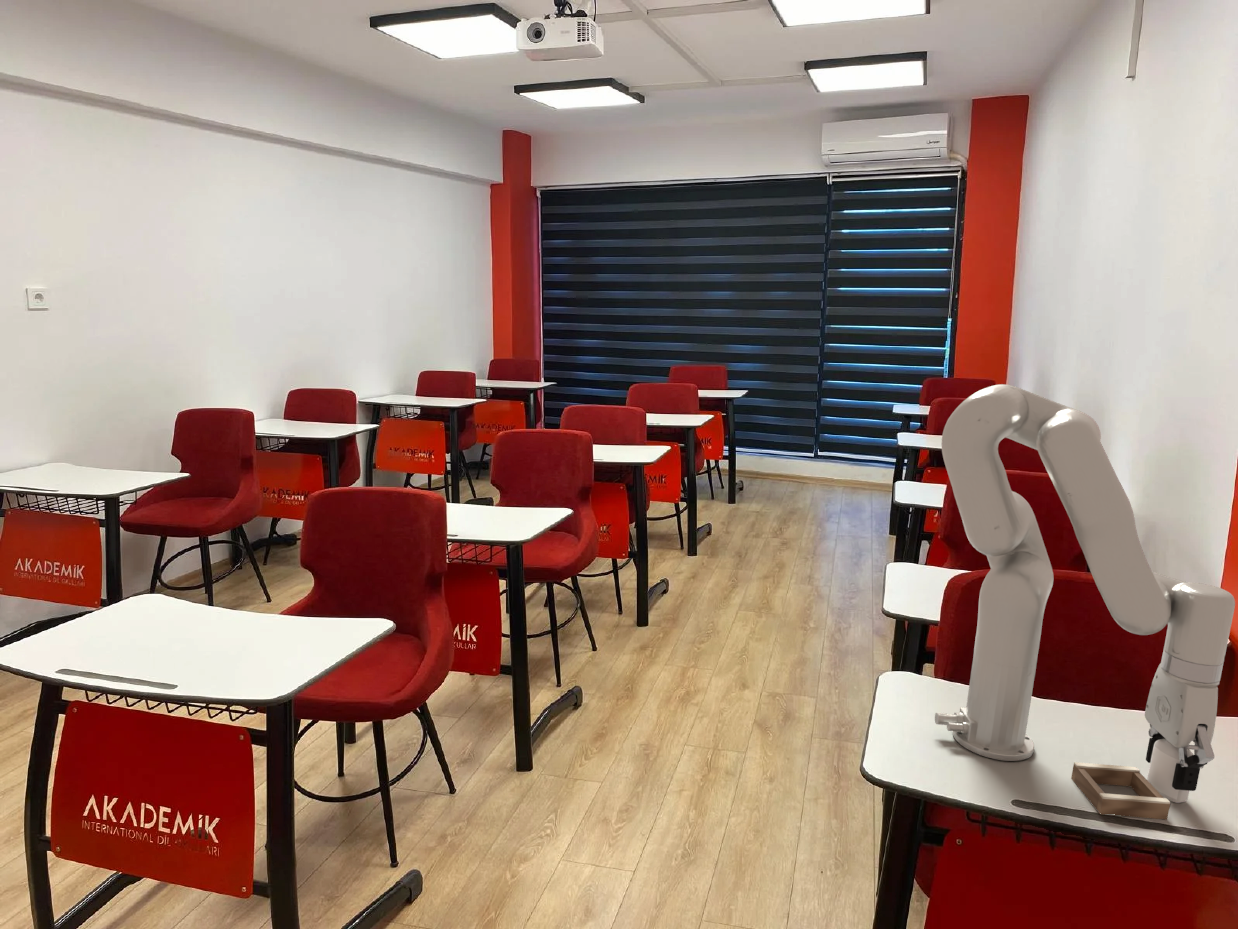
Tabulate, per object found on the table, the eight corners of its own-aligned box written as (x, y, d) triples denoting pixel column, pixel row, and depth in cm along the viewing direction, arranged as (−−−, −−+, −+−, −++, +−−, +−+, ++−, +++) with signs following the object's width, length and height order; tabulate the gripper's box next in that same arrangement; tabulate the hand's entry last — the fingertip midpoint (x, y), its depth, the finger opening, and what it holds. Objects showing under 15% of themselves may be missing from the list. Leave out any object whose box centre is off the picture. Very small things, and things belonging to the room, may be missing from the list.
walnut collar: (1100, 814, 127) (1103, 797, 126) (1071, 778, 136) (1073, 762, 136) (1167, 819, 126) (1170, 802, 126) (1133, 783, 136) (1136, 767, 135)
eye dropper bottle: (1158, 802, 131) (1172, 729, 129) (1143, 781, 136) (1156, 711, 134) (1190, 806, 130) (1205, 732, 128) (1173, 785, 136) (1187, 714, 133)
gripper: (1134, 641, 138) (1116, 744, 141) (1199, 691, 121) (1176, 806, 124) (1183, 645, 137) (1163, 748, 141) (1255, 695, 120) (1230, 811, 124)
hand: (1169, 774), depth 133 cm, fingers open, 6 cm apart
